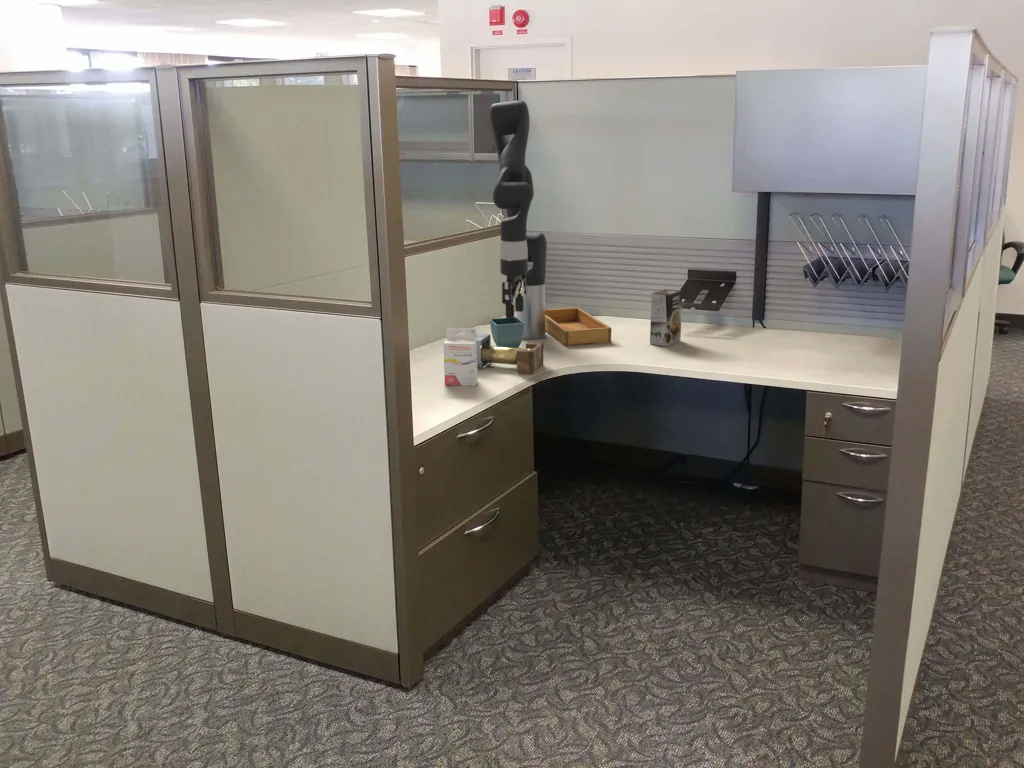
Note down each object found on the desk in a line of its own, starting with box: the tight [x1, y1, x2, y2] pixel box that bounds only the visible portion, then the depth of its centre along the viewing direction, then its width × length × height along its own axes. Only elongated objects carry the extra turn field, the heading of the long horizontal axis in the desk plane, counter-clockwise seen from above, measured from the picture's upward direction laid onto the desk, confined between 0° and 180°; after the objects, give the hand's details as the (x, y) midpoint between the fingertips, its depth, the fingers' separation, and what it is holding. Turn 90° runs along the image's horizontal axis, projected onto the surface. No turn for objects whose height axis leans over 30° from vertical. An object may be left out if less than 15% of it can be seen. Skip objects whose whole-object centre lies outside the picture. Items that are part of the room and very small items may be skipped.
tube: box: [482, 345, 532, 366], centre depth 259 cm, size 16×5×5 cm, turn 71°
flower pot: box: [489, 316, 524, 348], centre depth 279 cm, size 9×9×9 cm
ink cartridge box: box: [443, 327, 478, 386], centre depth 243 cm, size 9×5×15 cm, turn 86°
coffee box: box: [649, 288, 684, 347], centre depth 283 cm, size 9×6×16 cm
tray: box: [545, 307, 612, 347], centre depth 298 cm, size 31×15×6 cm, turn 15°
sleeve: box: [460, 332, 492, 370], centre depth 262 cm, size 8×8×8 cm
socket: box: [516, 341, 544, 376], centre depth 257 cm, size 10×4×6 cm, turn 161°
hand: (514, 314), depth 255 cm, fingers open, 8 cm apart
